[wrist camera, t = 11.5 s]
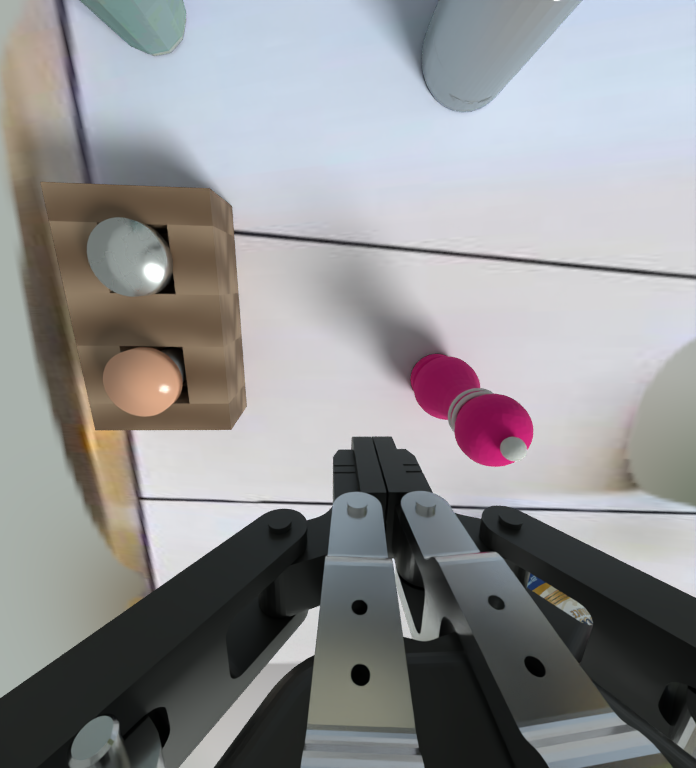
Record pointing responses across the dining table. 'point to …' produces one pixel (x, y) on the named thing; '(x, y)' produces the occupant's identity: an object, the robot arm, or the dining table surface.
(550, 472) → the dining table surface
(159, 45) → the disposable coffee cup
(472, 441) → the pepper mill
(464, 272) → the dining table surface
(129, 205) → the button panel
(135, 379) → the terracotta plunger
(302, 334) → the dining table surface
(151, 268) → the steel plunger
